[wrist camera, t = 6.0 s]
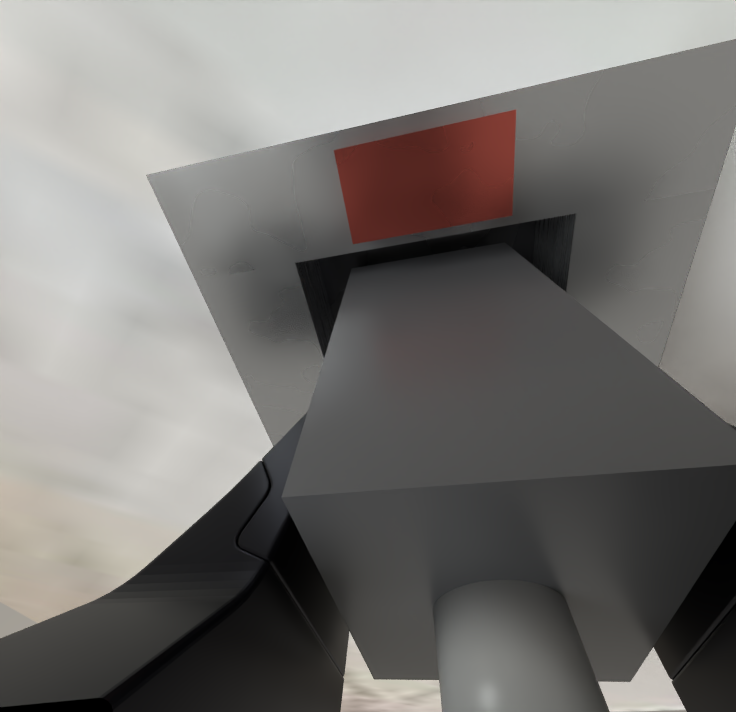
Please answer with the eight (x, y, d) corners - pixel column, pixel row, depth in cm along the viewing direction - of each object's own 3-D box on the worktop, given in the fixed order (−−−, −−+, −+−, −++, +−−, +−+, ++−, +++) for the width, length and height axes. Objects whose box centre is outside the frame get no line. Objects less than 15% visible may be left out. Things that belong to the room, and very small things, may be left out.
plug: (504, 242, 8) (1027, 669, 2) (500, 395, 11) (690, 813, 4) (351, 268, 9) (229, 665, 2) (381, 407, 12) (370, 796, 5)
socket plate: (657, 65, 7) (821, 15, 5) (583, 427, 13) (637, 504, 10) (204, 169, 9) (119, 178, 6) (313, 452, 15) (295, 525, 12)
